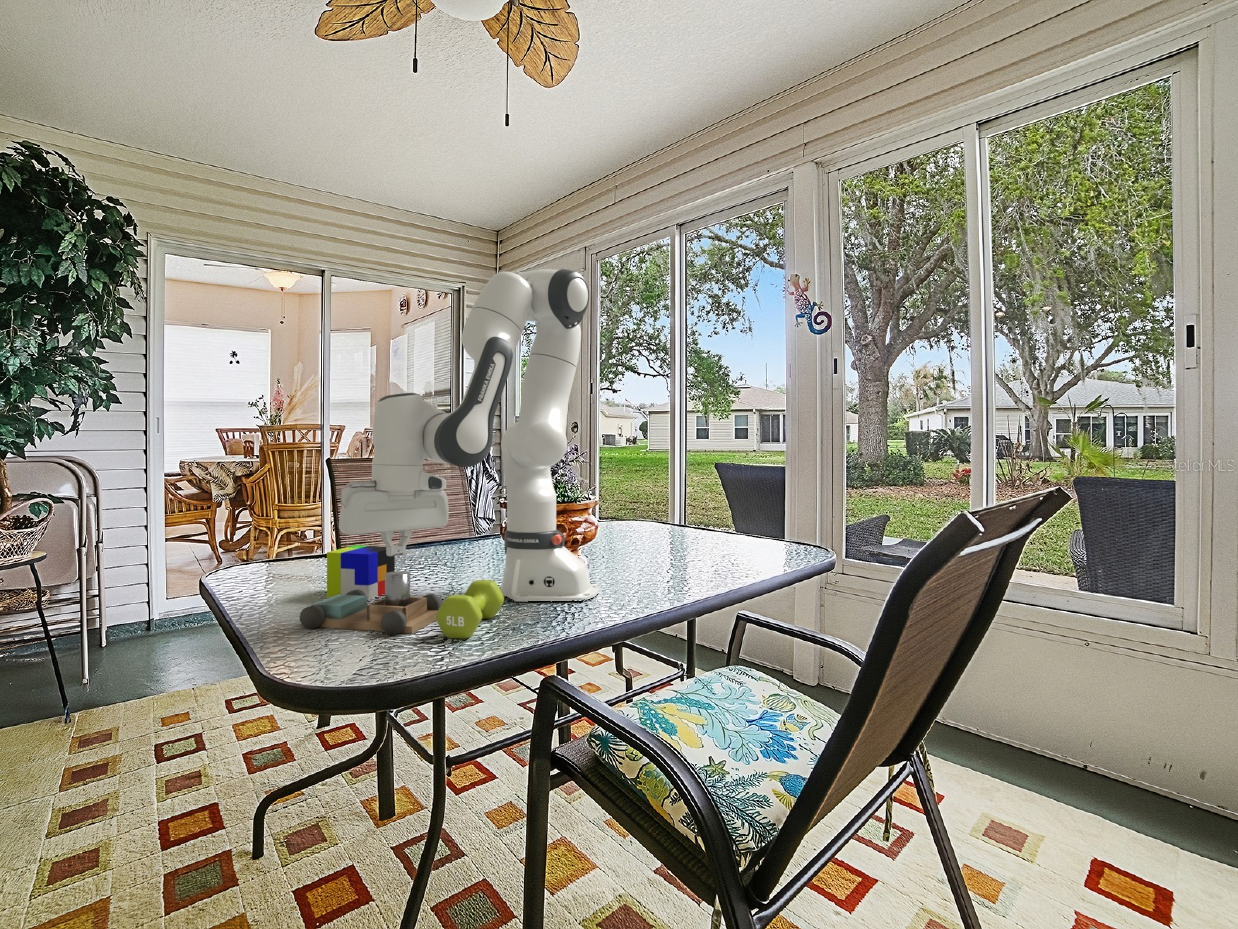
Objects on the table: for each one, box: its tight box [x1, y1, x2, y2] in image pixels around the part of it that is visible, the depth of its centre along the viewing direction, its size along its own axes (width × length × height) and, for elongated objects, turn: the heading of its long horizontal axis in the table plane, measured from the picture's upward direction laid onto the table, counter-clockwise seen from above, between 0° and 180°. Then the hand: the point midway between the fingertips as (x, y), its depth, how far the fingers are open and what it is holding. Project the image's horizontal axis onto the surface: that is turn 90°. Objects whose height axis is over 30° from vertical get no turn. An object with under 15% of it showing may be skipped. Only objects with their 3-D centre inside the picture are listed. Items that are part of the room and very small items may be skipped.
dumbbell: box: [435, 579, 505, 640], centre depth 113 cm, size 16×8×7 cm, turn 173°
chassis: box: [299, 589, 442, 636], centre depth 116 cm, size 22×14×4 cm, turn 79°
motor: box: [384, 570, 411, 607], centre depth 115 cm, size 5×5×8 cm
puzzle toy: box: [326, 545, 396, 601], centre depth 137 cm, size 10×10×10 cm
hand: (395, 555), depth 114 cm, fingers closed
